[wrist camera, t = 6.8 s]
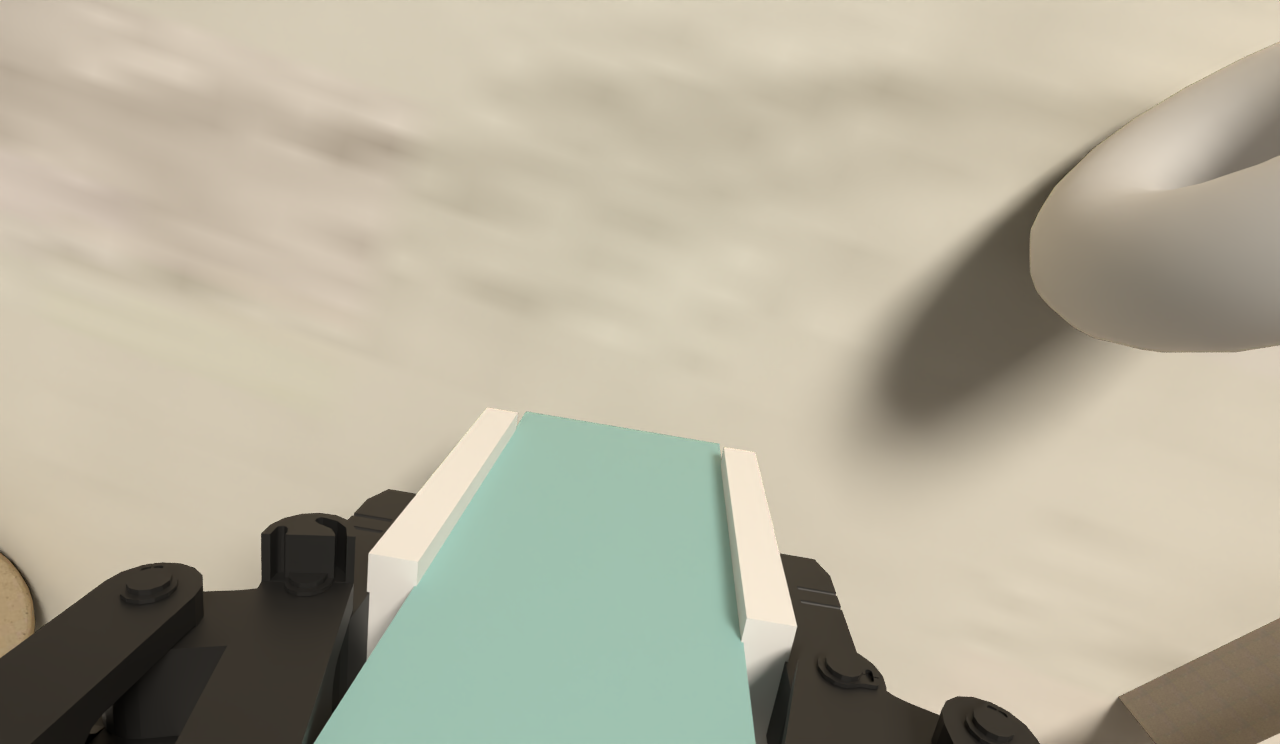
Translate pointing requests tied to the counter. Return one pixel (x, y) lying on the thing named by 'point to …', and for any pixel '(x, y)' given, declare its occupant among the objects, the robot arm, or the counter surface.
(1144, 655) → the counter surface
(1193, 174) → the donut
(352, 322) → the counter surface
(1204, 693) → the platform
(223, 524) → the counter surface
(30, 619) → the ceramic mug
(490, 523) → the tile
